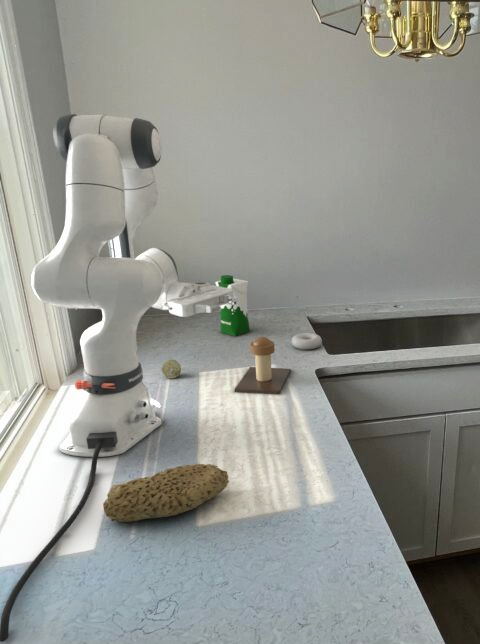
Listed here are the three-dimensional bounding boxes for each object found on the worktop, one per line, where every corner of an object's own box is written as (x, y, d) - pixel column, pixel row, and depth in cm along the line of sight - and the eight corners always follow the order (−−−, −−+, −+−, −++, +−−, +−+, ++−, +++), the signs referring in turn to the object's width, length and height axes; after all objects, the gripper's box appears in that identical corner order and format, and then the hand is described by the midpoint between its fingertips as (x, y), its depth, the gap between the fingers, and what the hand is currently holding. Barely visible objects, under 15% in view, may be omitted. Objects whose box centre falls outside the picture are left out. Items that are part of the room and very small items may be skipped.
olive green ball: (183, 377, 157) (182, 360, 155) (166, 381, 154) (164, 364, 152) (178, 372, 160) (176, 356, 158) (161, 376, 157) (159, 359, 155)
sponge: (108, 540, 95) (224, 512, 96) (94, 499, 93) (212, 470, 95) (132, 506, 108) (234, 481, 109) (120, 469, 106) (224, 444, 107)
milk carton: (216, 332, 193) (212, 275, 185) (236, 326, 200) (232, 271, 193) (235, 337, 189) (230, 279, 181) (254, 331, 196) (250, 275, 188)
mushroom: (272, 383, 153) (270, 341, 148) (249, 382, 153) (247, 340, 148) (277, 374, 159) (276, 333, 154) (255, 373, 159) (253, 332, 154)
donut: (287, 349, 180) (316, 352, 178) (286, 339, 179) (316, 342, 177) (297, 340, 189) (326, 342, 187) (297, 330, 188) (325, 332, 186)
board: (279, 394, 148) (279, 391, 148) (234, 391, 149) (234, 389, 148) (290, 371, 163) (290, 368, 163) (250, 369, 164) (250, 366, 163)
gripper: (156, 295, 148) (196, 302, 143) (209, 281, 166) (246, 287, 160) (159, 318, 151) (198, 326, 145) (211, 301, 168) (248, 308, 163)
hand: (224, 305), depth 153 cm, fingers open, 8 cm apart
